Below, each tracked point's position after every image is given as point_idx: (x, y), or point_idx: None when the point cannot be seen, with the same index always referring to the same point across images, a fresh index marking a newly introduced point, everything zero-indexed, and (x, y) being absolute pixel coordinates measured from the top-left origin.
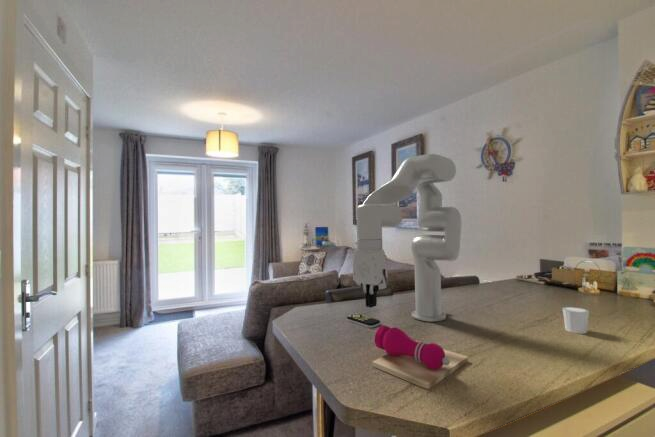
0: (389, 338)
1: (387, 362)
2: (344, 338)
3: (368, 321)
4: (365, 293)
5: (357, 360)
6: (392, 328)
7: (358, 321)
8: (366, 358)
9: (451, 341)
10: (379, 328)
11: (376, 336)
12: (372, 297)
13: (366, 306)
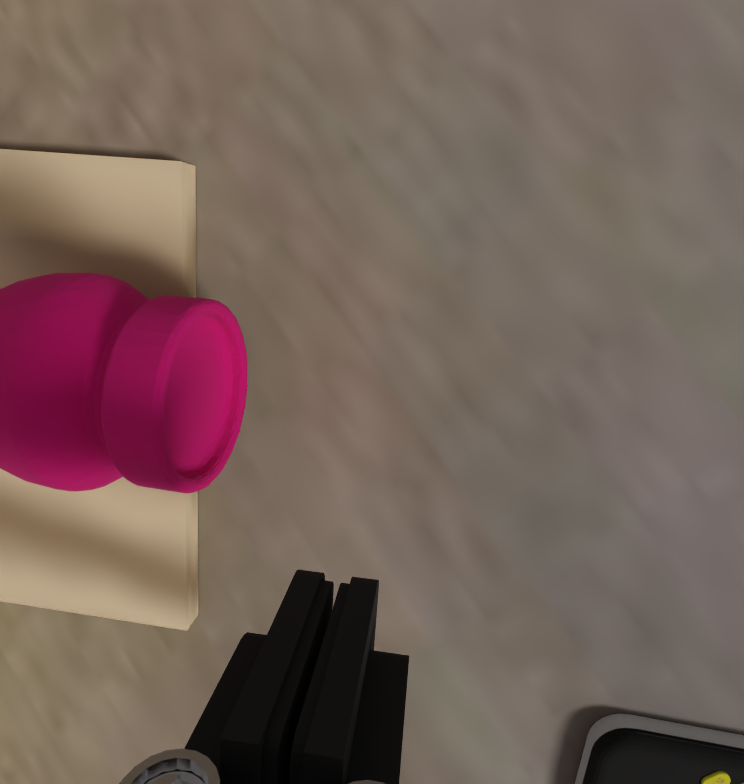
0: (21, 292)
1: (104, 224)
2: (656, 437)
3: (655, 779)
4: (340, 758)
5: (325, 171)
6: (10, 397)
7: (742, 754)
8: (298, 243)
9: (83, 753)
10: (149, 369)
11: (176, 306)
12: (217, 716)
13: (369, 580)
